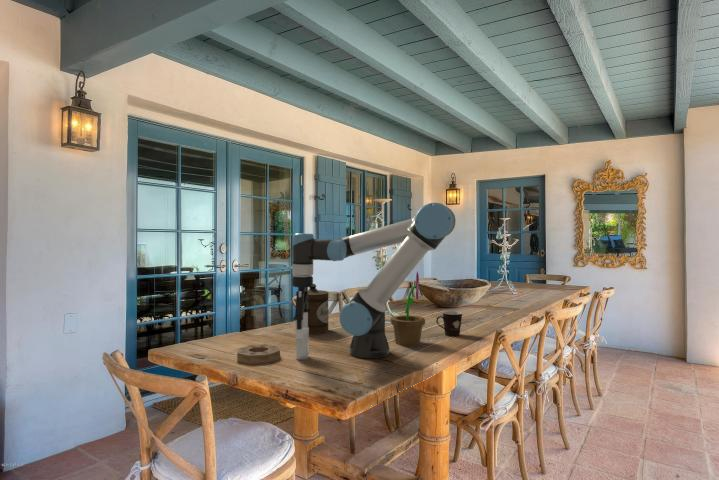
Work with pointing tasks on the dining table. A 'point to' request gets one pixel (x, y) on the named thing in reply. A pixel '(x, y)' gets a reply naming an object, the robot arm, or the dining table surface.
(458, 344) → the dining table surface
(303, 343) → the light grey rectangular block
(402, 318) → the flowerpot
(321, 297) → the wooden container
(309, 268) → the robot arm
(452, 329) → the coffee mug
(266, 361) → the brown wooden ring
